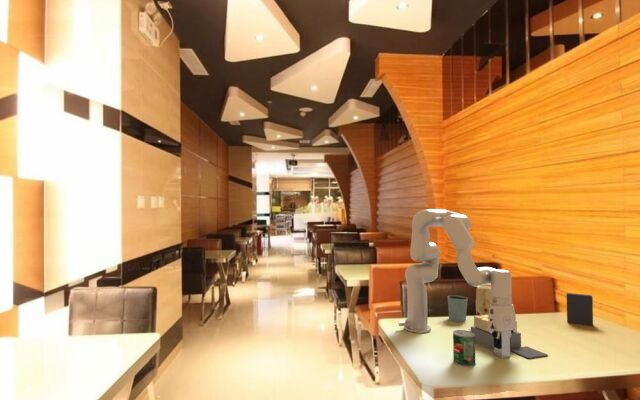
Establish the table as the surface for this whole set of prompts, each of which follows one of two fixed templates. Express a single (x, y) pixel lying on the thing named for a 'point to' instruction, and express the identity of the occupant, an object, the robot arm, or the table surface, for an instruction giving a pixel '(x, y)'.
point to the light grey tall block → (503, 345)
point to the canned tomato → (464, 348)
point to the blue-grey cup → (457, 308)
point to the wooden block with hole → (484, 322)
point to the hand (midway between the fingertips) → (502, 346)
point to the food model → (483, 300)
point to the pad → (528, 352)
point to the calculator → (580, 309)
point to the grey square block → (488, 340)
